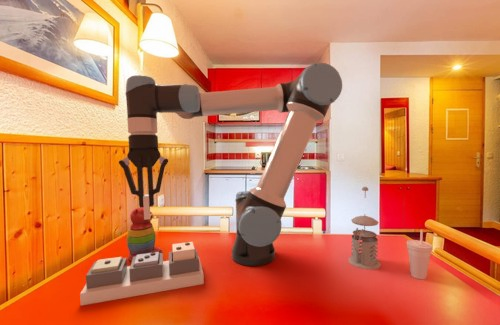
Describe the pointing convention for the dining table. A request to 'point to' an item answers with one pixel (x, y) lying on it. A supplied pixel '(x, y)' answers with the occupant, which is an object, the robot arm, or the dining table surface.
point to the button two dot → (183, 251)
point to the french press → (364, 243)
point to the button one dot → (107, 264)
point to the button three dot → (146, 259)
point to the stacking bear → (141, 234)
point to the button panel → (141, 279)
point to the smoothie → (419, 257)
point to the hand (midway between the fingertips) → (147, 218)
